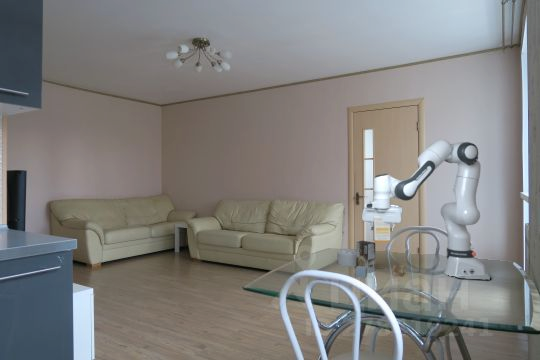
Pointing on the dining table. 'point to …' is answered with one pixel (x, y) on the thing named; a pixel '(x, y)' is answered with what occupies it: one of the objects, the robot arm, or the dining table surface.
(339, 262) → the lumpy-topped squat cylinder
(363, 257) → the coffee box
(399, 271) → the walnut block
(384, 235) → the supplement box
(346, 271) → the dining table surface
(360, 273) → the slate block
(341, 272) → the dining table surface
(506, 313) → the dining table surface
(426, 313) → the dining table surface
